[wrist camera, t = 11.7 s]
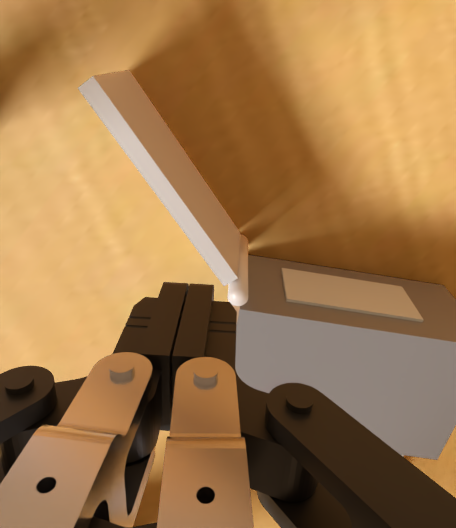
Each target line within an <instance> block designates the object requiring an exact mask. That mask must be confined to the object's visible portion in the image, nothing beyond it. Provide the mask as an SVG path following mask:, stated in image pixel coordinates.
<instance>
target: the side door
mask: <svg viewBox="0 0 456 528" xmlns="http://www.w3.org/2000/svg"><path fill="white" fill-rule="evenodd" d="M78 89H79V91H80V92H81V93H82V95H83V96H84V98H85V99H86V100H87V102H88V103H89V104H90V106H91V107H92V108H93V110H94V111H95V112H96V114H97V115H98V116H99V118H100V119H101V121H102V122H103V123H104V125H105V126H106V127H107V129H108V130H109V131H110V133H111V134H112V135H113V137H114V138H115V139H116V141H117V142H118V144H119V145H120V146H121V148H122V149H123V150H124V152H125V153H126V154H127V156H128V157H129V158H130V160H131V161H132V163H133V164H134V165H135V167H136V168H137V169H138V171H139V172H140V173H141V175H142V176H143V177H144V179H145V180H146V181H147V183H148V184H149V186H150V187H151V188H152V190H153V191H154V192H155V194H156V195H157V196H158V198H159V199H160V200H161V202H162V203H163V204H164V206H165V207H166V209H167V210H168V211H169V213H170V214H171V215H172V217H173V218H174V219H175V221H176V222H177V223H178V225H179V226H180V228H181V229H182V230H183V232H184V233H185V234H186V236H187V237H188V238H189V240H190V241H191V242H192V244H193V245H194V246H195V248H196V249H197V251H198V252H199V253H200V255H201V256H202V257H203V259H204V260H205V261H206V263H207V264H208V265H209V267H210V268H211V269H212V271H213V272H214V274H215V275H216V276H217V278H218V279H219V280H220V282H221V283H222V284H223V286H225V285H227V284H229V287H228V301H229V302H230V303H231V304H232V305H234V306H242V305H244V304H245V303H246V302H247V301H248V239H247V237H246V236H244V235H241V234H240V232H239V230H238V229H237V227H236V226H235V224H234V223H233V221H232V220H231V218H230V217H229V215H228V214H227V212H226V211H225V210H224V208H223V207H222V205H221V204H220V202H219V201H218V199H217V198H216V196H215V195H214V193H213V192H212V190H211V189H210V188H209V186H208V185H207V183H206V182H205V180H204V179H203V177H202V176H201V174H200V173H199V171H198V170H197V168H196V167H195V166H194V164H193V163H192V161H191V160H190V158H189V157H188V155H187V154H186V152H185V151H184V149H183V148H182V146H181V145H180V143H179V142H178V141H177V139H176V138H175V136H174V135H173V133H172V132H171V130H170V129H169V127H168V126H167V124H166V123H165V121H164V120H163V119H162V117H161V116H160V114H159V113H158V111H157V110H156V108H155V107H154V105H153V104H152V102H151V101H150V99H149V98H148V97H147V95H146V94H145V92H144V91H143V89H142V88H141V86H140V85H139V83H138V82H137V80H136V79H135V77H134V76H133V74H132V73H131V72H130V70H125V71H119V72H113V73H108V74H102V75H96V76H92V77H91V78H90V79H88V80H87V81H86V82H85V83H83V84H82V85H81V86H80V87H78Z"/></svg>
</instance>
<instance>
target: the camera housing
mask: <svg viewBox="0 0 456 528" xmlns="http://www.w3.org/2000/svg"><path fill="white" fill-rule="evenodd" d="M232 306H233V307H234V308H235V310H236V311H237V323H236V358H235V369H236V372H237V375H238V376H239V378H240V379H241V380H242V381H243V382H244V383H245V384H247V385H248V386H250V387H252V388H254V389H257V390H260V391H263V392H266V393H270V391H271V390H272V389H273V388H275V387H277V386H279V385H281V384H285V383H301V384H305V385H308V386H311V387H313V388H315V389H317V390H318V391H320V392H321V393H323V394H324V395H325V396H326V397H328V398H329V399H330V400H332V401H333V402H334V403H335V404H337V405H338V406H339V407H340V408H342V409H343V410H344V411H345V412H347V413H348V414H349V415H351V416H352V417H353V418H354V419H356V420H357V421H358V422H359V423H361V424H362V425H363V426H365V427H366V428H367V429H368V430H370V431H371V432H372V433H373V434H375V435H376V436H377V437H378V438H380V439H381V440H382V441H384V442H385V443H386V444H387V445H389V446H390V447H391V448H392V449H394V450H395V451H396V452H398V453H399V454H400V455H407V456H414V457H421V458H428V459H435V460H437V459H438V457H439V455H440V454H441V452H442V450H443V448H444V446H445V444H446V442H447V440H448V439H449V437H450V435H451V433H452V431H453V429H454V427H455V425H456V299H455V298H454V297H453V296H452V295H451V293H450V292H449V291H448V290H447V289H446V287H445V286H444V285H439V284H432V283H426V282H420V281H413V280H407V279H401V278H394V277H388V276H381V275H375V274H369V273H362V272H356V271H349V270H343V269H337V268H330V267H324V266H318V265H311V264H305V263H298V262H292V261H286V260H279V259H273V258H266V257H260V256H254V255H248V301H247V302H246V303H245V304H244V305H242V306H234V305H232Z"/></svg>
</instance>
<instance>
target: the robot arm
mask: <svg viewBox="0 0 456 528" xmlns="http://www.w3.org/2000/svg"><path fill="white" fill-rule="evenodd" d="M236 323H237V311H236V310H235V308H234V307H233V306H232V304H231V303H230V302H219V301H214V285H205V284H190V285H188V284H187V283H170V282H164V283H163V286H162V288H161V291H160V294H159V297H158V298H150V297H145V298H143V299H142V300H141V301H140V302H138V303H137V304H136V305H134V307H133V309H132V312H131V314H130V316H129V318H128V321H127V323H126V327H124V330H123V332H122V334H121V336H120V339H119V341H118V343H117V345H116V348H115V350H114V352H113V354H111V355H109V356H106V357H104V358H102V359H101V360H100V361H98V362H97V363H96V364H95V365H94V367H93V368H92V370H91V372H90V373H89V375H88V376H87V377H84V378H80V379H75V380H69V381H63V382H57V383H55V382H54V377H53V375H52V373H51V372H50V371H49V370H47V369H45V368H43V367H38V366H23V367H18V368H14V369H11V370H8V371H6V372H4V373H2V374H0V528H254V525H253V515H252V505H251V494H250V488H251V489H253V490H256V491H257V495H258V498H259V500H260V502H261V504H262V505H263V507H264V508H265V509H266V510H267V511H268V513H269V514H270V515H271V516H272V517H273V519H274V520H275V521H276V522H277V523H278V525H279V526H280V527H281V528H456V498H455V497H453V496H452V495H451V494H450V493H448V492H447V491H446V490H445V489H443V488H442V487H441V486H439V485H438V484H437V483H436V482H434V481H433V480H432V479H431V478H429V477H428V476H427V475H425V474H424V473H423V472H422V471H420V470H419V469H418V468H417V467H415V466H414V465H413V464H411V463H410V462H409V461H408V460H406V459H405V458H404V457H403V456H401V455H400V454H399V453H398V452H396V451H395V450H394V449H392V448H391V447H390V446H389V445H387V444H386V443H385V442H384V441H382V440H381V439H380V438H378V437H377V436H376V435H375V434H373V433H372V432H371V431H370V430H368V429H367V428H366V427H365V426H363V425H362V424H361V423H359V422H358V421H357V420H356V419H354V418H353V417H352V416H351V415H349V414H348V413H347V412H345V411H344V410H343V409H342V408H340V407H339V406H338V405H337V404H335V403H334V402H333V401H332V400H330V399H329V398H328V397H326V396H325V395H324V394H323V393H321V392H320V391H318V390H317V389H315V388H313V387H311V386H308V385H305V384H301V383H285V384H281V385H279V386H277V387H275V388H273V389H272V390H271V391H270V393H266V392H263V391H260V390H257V389H254V388H252V387H250V386H248V385H247V384H245V383H244V382H243V381H242V380H241V379H240V378H239V376H238V375H237V372H236V369H235V358H236ZM159 430H166V431H170V436H169V437H167V441H166V448H165V457H164V466H163V475H162V484H161V494H160V503H159V512H158V521H157V523H152V524H147V525H142V526H136V527H133V525H134V522H135V519H136V515H137V512H138V509H139V506H140V503H141V500H142V496H143V493H144V490H145V487H146V484H147V481H148V478H149V474H150V471H151V468H152V465H153V462H154V458H155V446H156V443H157V439H158V435H159Z"/></svg>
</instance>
